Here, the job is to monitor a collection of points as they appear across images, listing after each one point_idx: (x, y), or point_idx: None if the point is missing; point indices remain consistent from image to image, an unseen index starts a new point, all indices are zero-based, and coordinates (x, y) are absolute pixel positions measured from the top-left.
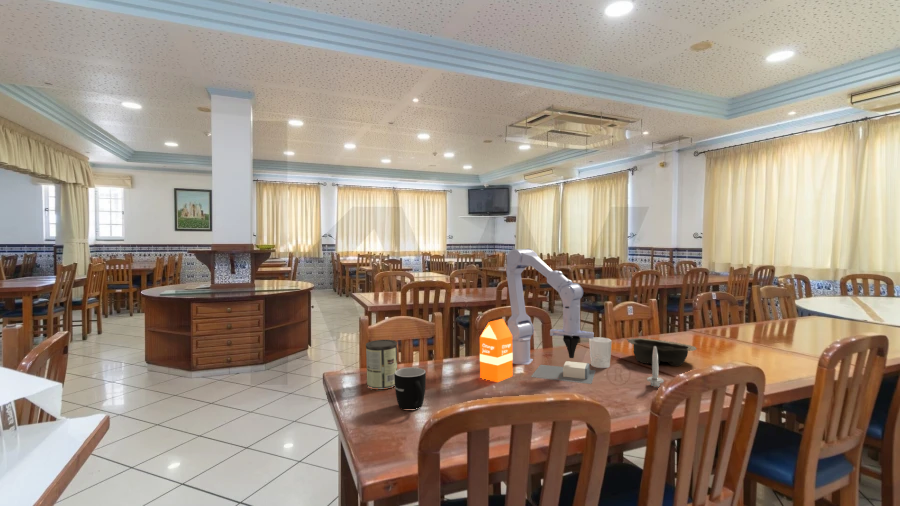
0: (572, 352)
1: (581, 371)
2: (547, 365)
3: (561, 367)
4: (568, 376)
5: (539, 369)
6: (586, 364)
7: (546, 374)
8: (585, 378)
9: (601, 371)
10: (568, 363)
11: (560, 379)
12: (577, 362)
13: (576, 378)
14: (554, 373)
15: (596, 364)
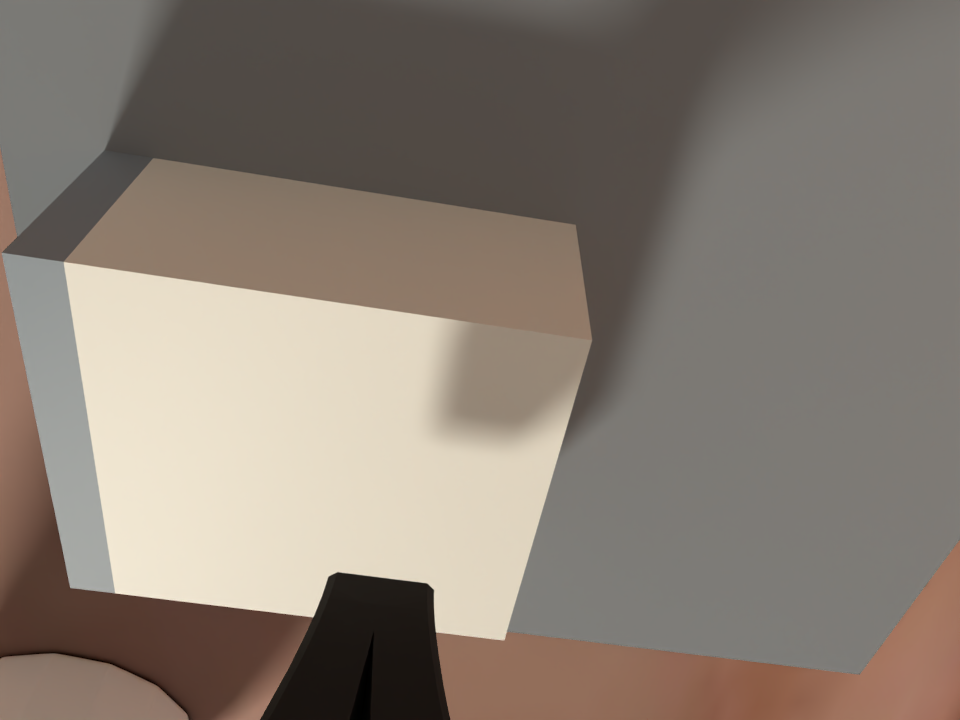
0: (317, 702)
1: (173, 234)
2: (761, 656)
3: (568, 615)
4: (473, 214)
5: (937, 504)
6: (107, 529)
7: (887, 285)
8: (139, 161)
9: (11, 566)
10: (462, 536)
11: (652, 16)
12: (294, 604)
13: (316, 152)
14: (719, 360)
15: (85, 703)
